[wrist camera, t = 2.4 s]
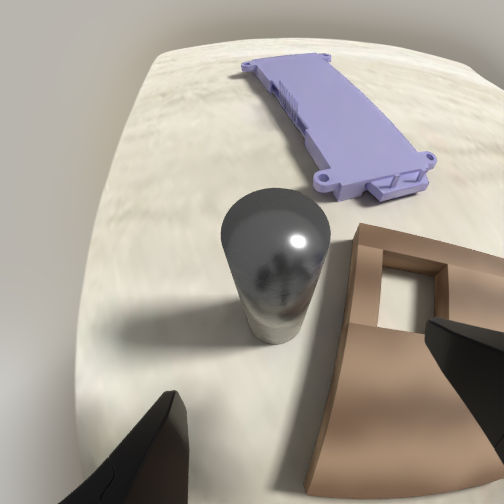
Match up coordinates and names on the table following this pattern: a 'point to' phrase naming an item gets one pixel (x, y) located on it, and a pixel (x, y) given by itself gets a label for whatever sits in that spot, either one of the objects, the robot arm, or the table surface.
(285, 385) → the table surface
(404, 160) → the computer part
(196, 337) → the table surface
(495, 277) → the walnut stool seat
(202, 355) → the table surface
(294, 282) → the stool leg
